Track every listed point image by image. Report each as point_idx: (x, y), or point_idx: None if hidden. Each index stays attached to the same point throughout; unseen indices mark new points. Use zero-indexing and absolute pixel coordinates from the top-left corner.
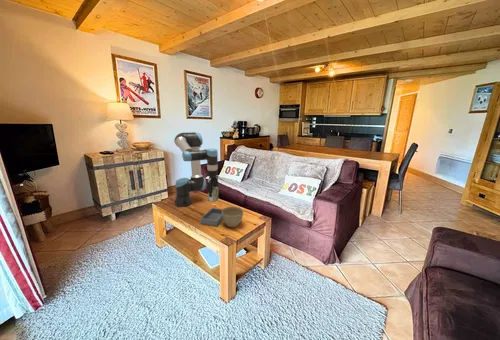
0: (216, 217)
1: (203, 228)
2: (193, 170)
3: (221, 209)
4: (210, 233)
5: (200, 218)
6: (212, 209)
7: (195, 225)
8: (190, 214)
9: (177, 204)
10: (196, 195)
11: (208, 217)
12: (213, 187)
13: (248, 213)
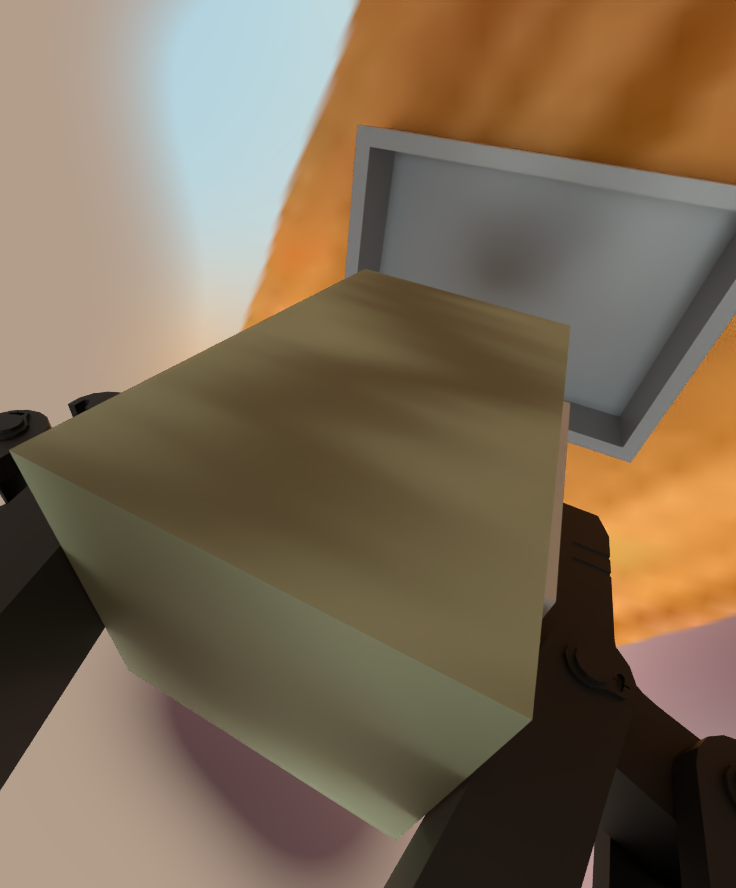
0: (538, 311)
1: (311, 211)
2: None
3: (671, 388)
4: (264, 304)
5: (357, 126)
6: None
7: (343, 68)
8: None
9: None
10: None
11: (542, 193)
12: (290, 716)
13: (640, 604)
